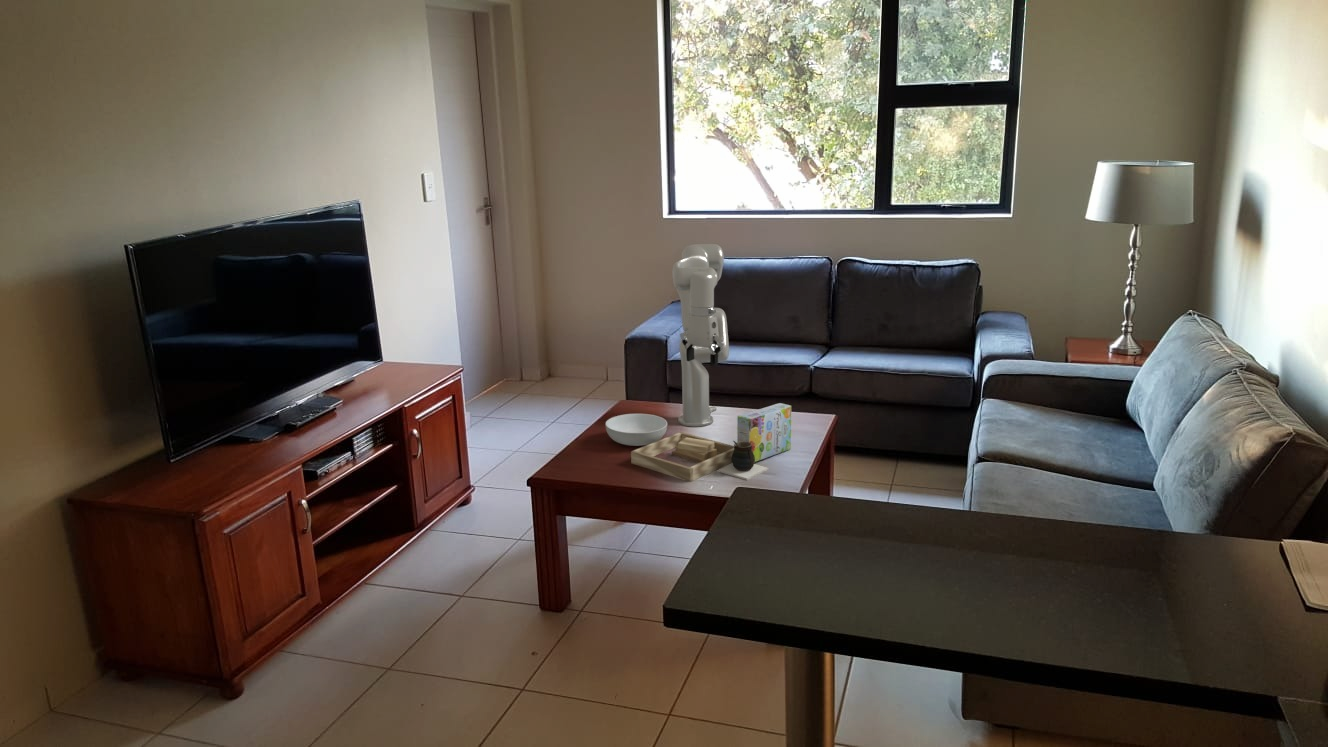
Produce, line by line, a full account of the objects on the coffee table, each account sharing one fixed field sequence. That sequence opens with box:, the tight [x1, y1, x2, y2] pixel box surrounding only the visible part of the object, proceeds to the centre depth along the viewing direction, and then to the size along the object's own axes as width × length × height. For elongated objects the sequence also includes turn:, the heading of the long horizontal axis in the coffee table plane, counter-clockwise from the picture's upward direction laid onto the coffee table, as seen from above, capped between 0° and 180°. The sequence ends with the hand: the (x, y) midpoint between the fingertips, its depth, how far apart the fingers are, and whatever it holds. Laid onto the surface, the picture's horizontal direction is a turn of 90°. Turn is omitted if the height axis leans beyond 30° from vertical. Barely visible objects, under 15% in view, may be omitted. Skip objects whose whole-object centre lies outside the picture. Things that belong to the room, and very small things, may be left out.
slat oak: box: [675, 446, 717, 461], centre depth 290 cm, size 6×12×2 cm, turn 47°
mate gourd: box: [731, 440, 756, 471], centre depth 277 cm, size 7×8×10 cm
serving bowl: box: [604, 413, 668, 447], centre depth 305 cm, size 21×21×7 cm
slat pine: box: [678, 437, 714, 453], centre depth 290 cm, size 6×10×2 cm, turn 63°
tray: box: [630, 431, 734, 483], centre depth 286 cm, size 24×24×4 cm
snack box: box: [736, 402, 792, 463], centre depth 289 cm, size 21×6×15 cm, turn 135°
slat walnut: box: [671, 449, 717, 464], centre depth 291 cm, size 7×14×2 cm, turn 48°
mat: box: [717, 463, 769, 481], centre depth 278 cm, size 11×11×1 cm
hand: (702, 362), depth 291 cm, fingers open, 9 cm apart
